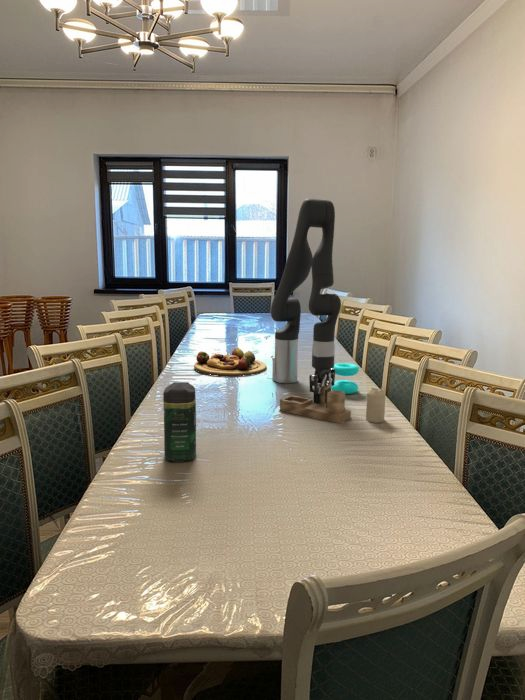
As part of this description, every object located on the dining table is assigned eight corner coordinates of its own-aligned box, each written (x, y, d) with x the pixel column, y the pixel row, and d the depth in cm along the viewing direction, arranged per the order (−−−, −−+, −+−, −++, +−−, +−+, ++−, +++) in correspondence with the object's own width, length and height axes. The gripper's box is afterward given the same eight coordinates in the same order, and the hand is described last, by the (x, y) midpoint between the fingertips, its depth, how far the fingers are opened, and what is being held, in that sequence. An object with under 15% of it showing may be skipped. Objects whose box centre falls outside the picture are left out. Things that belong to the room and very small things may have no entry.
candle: (385, 418, 161) (386, 387, 159) (383, 423, 156) (384, 391, 154) (367, 416, 163) (368, 385, 161) (364, 421, 157) (366, 390, 156)
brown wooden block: (313, 403, 176) (314, 386, 175) (319, 401, 179) (320, 384, 178) (325, 406, 173) (326, 388, 172) (331, 403, 177) (331, 386, 175)
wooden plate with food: (180, 373, 220) (180, 354, 219) (214, 358, 249) (214, 341, 248) (248, 382, 209) (249, 362, 207) (276, 365, 238) (277, 348, 236)
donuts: (332, 361, 196) (359, 362, 194) (331, 387, 198) (358, 388, 196) (330, 367, 186) (358, 368, 185) (330, 393, 188) (357, 395, 186)
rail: (279, 410, 168) (280, 385, 167) (291, 405, 174) (291, 381, 172) (340, 423, 156) (341, 396, 154) (350, 417, 161) (351, 391, 159)
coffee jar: (195, 462, 126) (194, 389, 122) (162, 463, 125) (160, 389, 122) (197, 448, 135) (196, 379, 132) (167, 448, 135) (165, 379, 131)
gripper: (323, 349, 181) (322, 395, 184) (302, 355, 170) (301, 404, 173) (343, 351, 177) (341, 398, 180) (322, 358, 165) (321, 408, 168)
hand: (321, 401), depth 176 cm, fingers open, 6 cm apart
